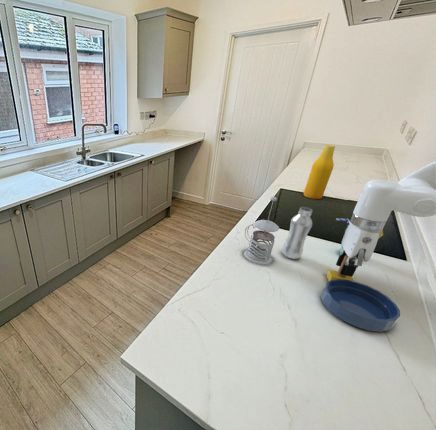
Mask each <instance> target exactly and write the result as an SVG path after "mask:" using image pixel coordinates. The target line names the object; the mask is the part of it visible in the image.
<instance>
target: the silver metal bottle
mask: <svg viewBox="0 0 436 430" xmlns="http://www.w3.org/2000/svg"><path fill="white" fill-rule="evenodd" d="M312 214H313V209H312V208H310V207H307V206H300V207H299V210H298V212H297V214H296V215H294V216H293V217H292V218H291V219H290V225H289V230H288V235H287V237H286V239H285V242H284V243H283V245H282V246H281V253H282V254H283V256H285V257H286V258H289V259H292V260H298V259H299V258H301V257H302V255H303V252H304V246H305V241H306V238H307V237H308V236H307V235H308V234H309V232H310V231H311V228H312V227H313V220H312V218H311V216H312Z"/></svg>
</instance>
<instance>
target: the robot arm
mask: <svg viewBox="0 0 436 430" xmlns="http://www.w3.org/2000/svg"><path fill="white" fill-rule="evenodd" d="M392 211H394V212H398V213H401V214H405V215H408V216H412V217H419V218H428V217H429V218H430V217H433V216H436V160H435V161H432V162H431V163H429V164H426V165H424V166H422V167H420V168H418V169H417V170H415V171H413V172H411V173H410V174H408V175H406V176H405V177H404V178H402V179H400V180H399V181H398V182H395V181H393V180H392V181H391V180H387V179H376V178H375V179H370V180H368V181H367V182H365V184H364V186H363V189H362V191H361V193H360V196H359V197H358V199H357V202H356V204H355V206H354V209H353V211H352V214H351V216H350V218H349V224H350V225H349V227H348V226H347V227H348V228H347V227H346V229H347V230H346V229H345V231H346V232H345V231H344V234H343V237H342V239H341V247H342V246H343V249H342V251H341V253H340V252H339V253H340V254H341V255H340V254H339V256H338V258H337V260H336V263H335V266H337V267H340V266H341V264H342V262H343V259H344V257H345V255H347V256H348V258H347V261H346V264H345V263H344V264H343V267H342V269H341V271H340V274H341V275H346V276H351V277H352V278H353V276H354V274H355V273H356V270H357V268H359V267H362V266H363V264H364V263H363V262H364V261H365V262H369V261H370V260H371V258H372V256H373V254H374V251H375V250H376V246H377V243H378V240H379V239H380V238H379V234H380V231H382V229H383V230H384V227H385V225H386V223H387V221H388V219H389V217H390V216H391V214H392ZM378 238H379V239H378ZM355 256H356V257H355ZM351 259H355V260H354V261H351ZM350 261H351V262H350Z"/></svg>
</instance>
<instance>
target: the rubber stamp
mask: <svg viewBox="0 0 436 430" xmlns="http://www.w3.org/2000/svg"><path fill="white" fill-rule="evenodd" d="M347 258H348V256H347V255H345V257H344V259H343V262H342V264H341V266H339V268H338V270H332V269H328V271H327V273H326V277H327V282H329V281H330V280H335V279H345V280H351V281H355V279H354V277H353V276H352V277H351V276H346V275H341V274H340V271H341V269H342V267H343V264H344V263H345V264H346V261H347ZM351 261H356V260H355V259H351ZM351 261H350V262H351Z"/></svg>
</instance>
